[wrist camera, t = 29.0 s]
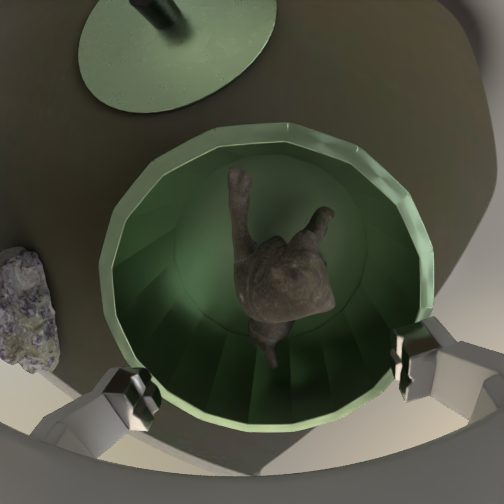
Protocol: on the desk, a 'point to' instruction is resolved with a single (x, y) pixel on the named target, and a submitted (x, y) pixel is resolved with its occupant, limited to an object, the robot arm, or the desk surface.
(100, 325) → the desk surface
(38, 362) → the mineral rock
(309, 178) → the waste tin
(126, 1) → the tin lid
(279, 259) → the dog figurine
